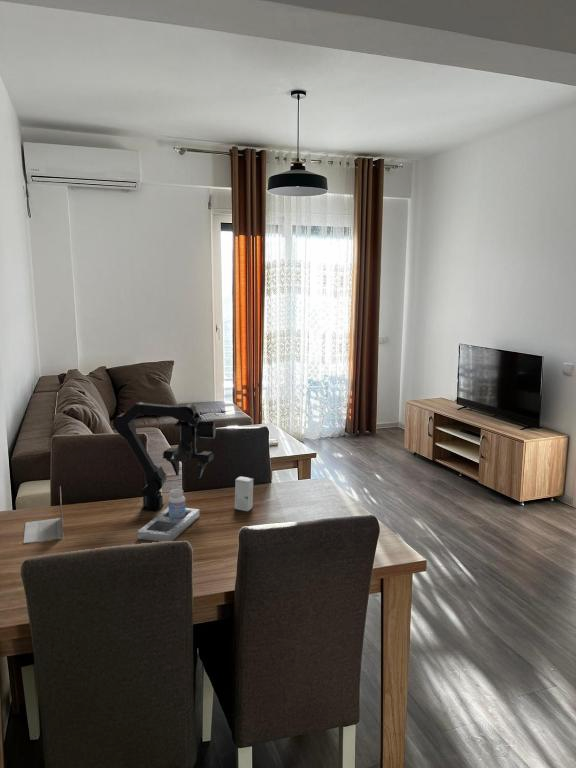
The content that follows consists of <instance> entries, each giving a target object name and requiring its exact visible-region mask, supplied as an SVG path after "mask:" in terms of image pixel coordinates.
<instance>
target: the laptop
mask: <svg viewBox="0 0 576 768" xmlns="http://www.w3.org/2000/svg"><path fill="white" fill-rule="evenodd" d="M61 487H62V486H59V501H60V502H59V504H60V517H57V518H49V519H41V520H32V521H26V522H25V523H24V531H23V532H24V533H23V540H22V541H23V542H22V543H23V544H24V545H25V544H33V543H34V544H35V543H43V542H48V541H49V542H50V541H56V540H63V539H64V530H63V529H64V526H63V525H64V524H63V523H64V522H63V519H64V518H63V506H62V488H61Z"/></svg>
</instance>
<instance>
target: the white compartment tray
mask: <svg viewBox="0 0 576 768" xmlns="http://www.w3.org/2000/svg"><path fill="white" fill-rule="evenodd" d="M199 518H200V509H198V508H191V507H185V517H184V518H183V519H178V518H171V517H169V506H167V507H166V508H165V509H164V510H163V511H161V512H160V513H159V514H158V515H156V516H155V517H154V518H153V519H151V520H150V521H149V522H147V523H146V524H145V525H143V526H142V527H141V528H140V529H138V530H137V540H138V541H145V542H153V543H158V542H159V541H173V540H174V541H175V540H176V539H177V538H179V536H181V535H182V534H183V533H184V532H185V531H186V530H188V528H189V527H191V526H192V525H193V524H194V523H195V522H196V521H197V520H198V519H199ZM174 541H173V542H174Z"/></svg>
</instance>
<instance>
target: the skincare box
mask: <svg viewBox="0 0 576 768" xmlns="http://www.w3.org/2000/svg"><path fill="white" fill-rule="evenodd" d="M234 482H235V484H234V488H235V489H234V509H235V510H239V511H244V512H249V511H251V509H253V504H254V503H253V501H254V498H253V497H254V478H252V477H247V476H238V477H237V478H235V481H234Z"/></svg>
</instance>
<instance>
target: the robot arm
mask: <svg viewBox="0 0 576 768" xmlns="http://www.w3.org/2000/svg"><path fill="white" fill-rule="evenodd" d="M197 410H198V409H197V408H196V406H195V405H194V404H193V403H190V402H188V403H187V402H186V403H180V404H174V405H172V404H171V405H170V404H160V403H149V402H148V403H147V402H142V401H139V402H136V403H134V405H133V406H132V407H131V408H129V409H128V410H127V411H126V412H124V413H121V414H119V415H117V416H116V417H115V418H114V419H113V421H112V427H113V428H114V430H115V431H116V433H117V434H118V435H120V437H122V438H123V439H125V441H126V443H127V444H128V447H129V448H130V449H131V452H132V453H133V455H134V457H135V458H136V460H137V462H138V464H139V465H140V467H141V470H142V471H143V474H144V480H145V483H146V485H145V486H144V488H142V490H141V494H142V502H143V505H142V507H141V510H143V511H150V512H151V511H152V512H157V511H159V510H160V509H161V508H162V507H164V503H163V495H162V491H160V490H161V489H162V488H163V487H164V485H166V482H167V474H168V473H166V472H165V471H164V468H163V466H157V465H155V463H154V462H153V460H152V458H151V457H150V455H149V452H148V451H147V449H146V448H145V446H144V444H143V442H142V441H141V438H140V437H139V435H138V433H137V429H136V423H135V421H134V420H135V419H136V418H137V417H138V416H140V415H149V416H150V415H151V416H162V417H171V418H173V419H176V420H177V421H176V422H175V424H174V427H179V432H180V433H179V437H180V438H179V439H180V440H179V441H178V445H177V447H176V448H174V447H168V448H167V449H165V450H164V451H163V452H162V459H165V461H167V462H169V463H170V464H171V466H172V468H173V470H174V474H175V476H176V477H178V476H179V475H180V474H179V473H180V462H181V463H185V462H187V461H188V459H197V460H198V462H197V465H198V473H197V475H198V476H197V477H198V479H201V478H202V475H203V473H204V469H206V466H207V464H208V463H210V462H211V461H213V460H214V459H215V457H214V453H213V452H212V451H207V450H203V451H202V452H200V453H197V452H198V448H197V442H198V439H197V438H196V436H197V437H198V438H199V439H215V438H216V434H217V427H216V424H215V419H210V420H208V419H205V420H203V418H202V417H201V415H200V414H199V413H198V411H197Z"/></svg>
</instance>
